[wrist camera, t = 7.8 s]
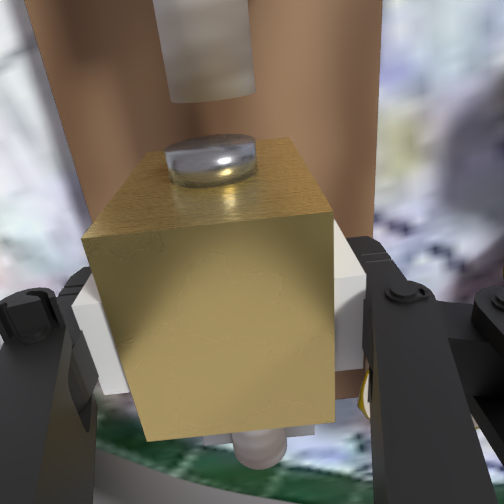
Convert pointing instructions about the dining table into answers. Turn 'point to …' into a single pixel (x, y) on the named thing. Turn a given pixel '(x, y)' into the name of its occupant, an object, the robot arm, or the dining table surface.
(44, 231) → the dining table surface
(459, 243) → the dining table surface
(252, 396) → the block
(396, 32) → the dining table surface
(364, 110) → the rig
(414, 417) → the robot arm
